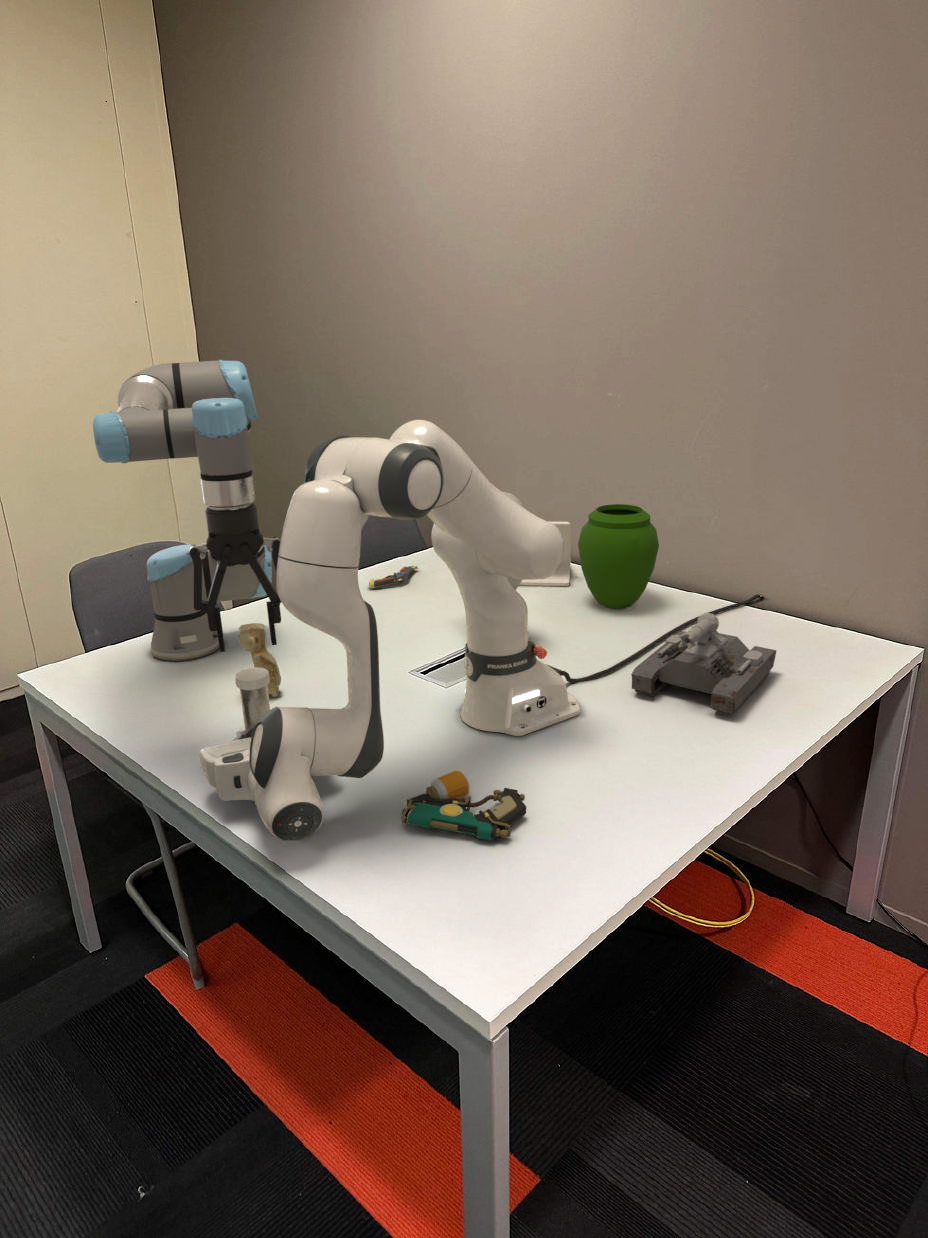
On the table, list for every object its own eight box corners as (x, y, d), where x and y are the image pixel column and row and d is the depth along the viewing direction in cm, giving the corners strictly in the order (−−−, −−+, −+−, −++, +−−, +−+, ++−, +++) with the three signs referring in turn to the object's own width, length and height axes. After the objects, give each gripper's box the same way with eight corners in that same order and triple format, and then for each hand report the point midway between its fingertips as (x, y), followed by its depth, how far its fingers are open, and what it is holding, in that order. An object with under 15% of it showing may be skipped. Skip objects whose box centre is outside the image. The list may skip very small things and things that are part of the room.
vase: (599, 587, 227) (601, 497, 218) (668, 600, 216) (673, 505, 208) (562, 608, 212) (564, 513, 204) (634, 623, 202) (639, 523, 193)
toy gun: (366, 581, 230) (401, 578, 228) (385, 565, 248) (418, 562, 246) (367, 590, 231) (403, 587, 228) (386, 574, 248) (419, 571, 246)
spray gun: (537, 812, 130) (487, 868, 119) (446, 778, 138) (391, 827, 127) (539, 789, 129) (488, 844, 117) (446, 756, 137) (390, 804, 125)
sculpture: (247, 690, 173) (238, 621, 168) (283, 687, 174) (275, 618, 168) (243, 702, 168) (234, 631, 162) (281, 700, 168) (273, 629, 163)
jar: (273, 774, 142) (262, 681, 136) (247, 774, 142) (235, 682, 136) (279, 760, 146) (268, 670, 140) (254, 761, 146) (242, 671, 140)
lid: (265, 690, 136) (264, 680, 136) (232, 690, 136) (230, 681, 136) (273, 676, 141) (272, 666, 141) (240, 676, 141) (239, 667, 141)
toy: (680, 652, 185) (684, 586, 179) (774, 672, 174) (781, 603, 168) (629, 696, 166) (633, 623, 160) (731, 721, 154) (738, 645, 149)
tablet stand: (569, 585, 229) (570, 524, 223) (476, 584, 232) (475, 523, 226) (570, 566, 246) (571, 508, 240) (484, 564, 249) (483, 507, 243)
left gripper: (295, 493, 134) (309, 629, 142) (161, 505, 129) (182, 645, 137) (300, 504, 127) (314, 645, 136) (158, 516, 122) (181, 662, 130)
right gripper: (339, 737, 133) (317, 702, 145) (204, 766, 126) (193, 727, 138) (342, 772, 136) (320, 734, 148) (210, 803, 128) (198, 761, 140)
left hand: (248, 645), depth 136 cm, fingers open, 7 cm apart
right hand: (258, 731), depth 143 cm, fingers closed on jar, 4 cm apart
